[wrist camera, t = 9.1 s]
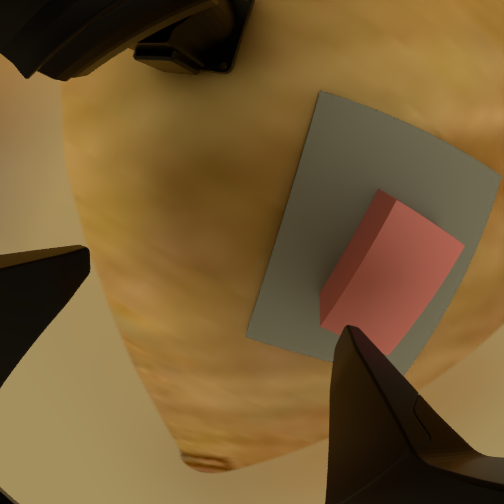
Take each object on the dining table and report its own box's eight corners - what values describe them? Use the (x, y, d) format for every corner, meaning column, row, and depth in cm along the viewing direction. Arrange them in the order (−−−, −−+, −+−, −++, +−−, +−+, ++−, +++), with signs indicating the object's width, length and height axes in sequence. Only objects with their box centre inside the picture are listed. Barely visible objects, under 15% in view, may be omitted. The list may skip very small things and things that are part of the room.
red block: (319, 293, 19) (320, 326, 16) (378, 188, 16) (396, 199, 13) (377, 320, 19) (388, 355, 16) (438, 225, 16) (465, 245, 13)
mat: (319, 92, 16) (320, 90, 15) (495, 174, 15) (501, 176, 14) (247, 330, 23) (245, 336, 22) (400, 372, 21) (401, 378, 21)
